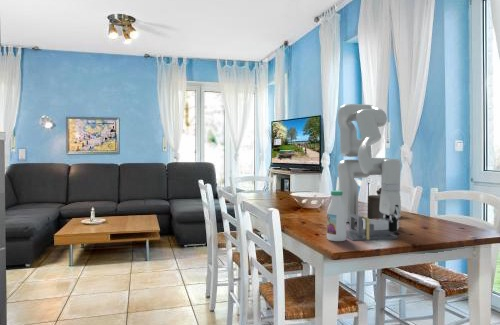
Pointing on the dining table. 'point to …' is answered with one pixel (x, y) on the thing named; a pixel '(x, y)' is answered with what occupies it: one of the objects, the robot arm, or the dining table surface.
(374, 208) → the pillar candle
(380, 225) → the white post with dot
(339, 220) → the milk bottle
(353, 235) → the collar rail
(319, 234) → the dining table surface
